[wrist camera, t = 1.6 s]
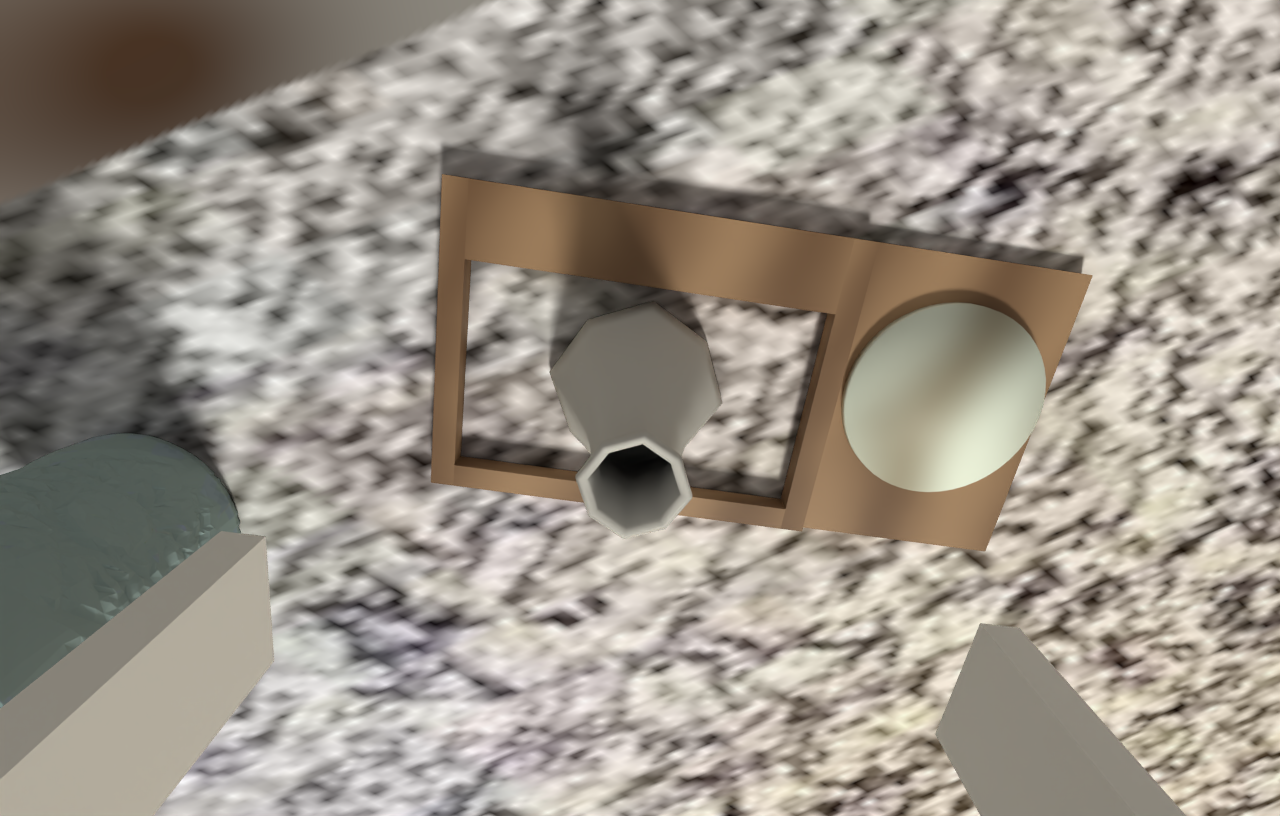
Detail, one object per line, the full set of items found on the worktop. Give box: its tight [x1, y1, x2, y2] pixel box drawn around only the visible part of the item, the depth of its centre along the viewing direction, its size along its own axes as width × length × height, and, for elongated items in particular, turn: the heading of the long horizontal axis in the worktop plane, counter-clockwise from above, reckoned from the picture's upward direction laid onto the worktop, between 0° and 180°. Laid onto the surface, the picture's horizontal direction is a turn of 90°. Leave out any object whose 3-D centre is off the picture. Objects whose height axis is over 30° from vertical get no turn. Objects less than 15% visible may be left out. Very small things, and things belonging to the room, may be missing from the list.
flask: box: [550, 301, 722, 539], centre depth 22 cm, size 7×7×10 cm
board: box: [431, 174, 1093, 551], centre depth 26 cm, size 26×13×1 cm, turn 82°
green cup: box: [0, 433, 241, 708], centre depth 23 cm, size 10×10×12 cm
